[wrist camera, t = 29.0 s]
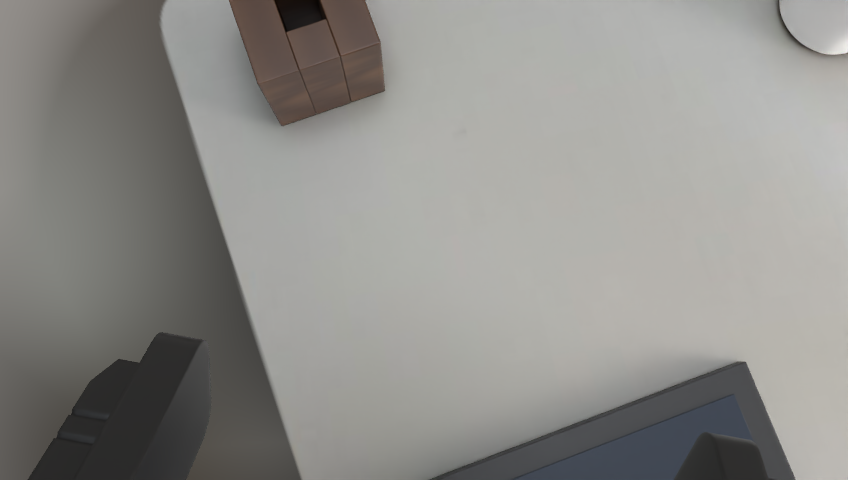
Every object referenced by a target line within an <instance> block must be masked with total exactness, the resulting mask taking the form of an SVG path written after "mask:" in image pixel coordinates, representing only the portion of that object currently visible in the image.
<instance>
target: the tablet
mask: <svg viewBox="0 0 848 480" xmlns="http://www.w3.org/2000/svg"><path fill="white" fill-rule="evenodd" d="M703 432H708V433H714V434H719V435H725V436H731V437H736V438H742V439H747V440H752V441H753V442H755V444H756V445H757V446H758V448H759V450H760V453H761V456H762V459H763V462H764V465H765V468H766V472H767V475H768V478H772V479H777V480H796V479H795V477H794V475H793V472H792V470H791V468H790V465H789V463H788V460H787V458H786V456H785V453H784V451H783V449H782V446H781V444H780V442H779V439H778V437H777V434H776V432H775V430H774V427H773V425H772V423H771V420H770V418H769V416H768V413H767V411H766V408H765V406H764V404H763V401H762V399H761V397H760V394H759V392H758V390H757V387H756V385H755V382H754V380H753V378H752V375H751V373H750V371H749V368H748V366H747V364H746V362H736V363H733V364H730V365H728V366H725V367H723V368H720V369H717V370H715V371H712V372H710V373H707V374H704V375H702V376H699V377H696V378H694V379H691V380H689V381H686V382H683V383H681V384H678V385H676V386H673V387H670V388H668V389H665V390H662V391H660V392H657V393H655V394H652V395H649V396H647V397H644V398H642V399H639V400H636V401H634V402H631V403H628V404H626V405H623V406H621V407H618V408H615V409H613V410H610V411H608V412H605V413H602V414H600V415H597V416H594V417H592V418H589V419H587V420H584V421H581V422H579V423H576V424H574V425H571V426H568V427H566V428H563V429H560V430H558V431H555V432H553V433H550V434H547V435H545V436H542V437H540V438H537V439H534V440H532V441H529V442H526V443H524V444H521V445H519V446H516V447H513V448H511V449H508V450H506V451H503V452H500V453H498V454H495V455H492V456H490V457H487V458H485V459H482V460H479V461H477V462H474V463H471V464H469V465H466V466H464V467H461V468H458V469H456V470H453V471H451V472H448V473H445V474H443V475H440V476H437V477H435V478H432V479H430V480H674V478H675V476H676V474H677V473H678V471H679V469H680V468H681V466H682V464H683V462H684V461H685V459H686V457H687V455H688V454H689V452H690V450H691V448H692V447H693V445H694V443H695V442H696V440H697V438H698V437H699V436H700V434H702V433H703Z"/></svg>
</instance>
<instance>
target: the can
mask: <svg viewBox="0 0 848 480" xmlns="http://www.w3.org/2000/svg"><path fill="white" fill-rule="evenodd" d="M779 6H780V12H781V16H782V19H783V21H784V23H785V25H786V27H787V28H788V30H789V31H790V33H791V34H792V35H793V36H794V37H795V38H796V39H797V40H798V41H799V42H801V43H802V44H803V45H805V46H806V47H808V48H810V49H812V50H814V51H817V52H819V53H823V54H831V55H836V54H844V53H848V0H779Z"/></svg>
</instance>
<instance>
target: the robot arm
mask: <svg viewBox="0 0 848 480" xmlns="http://www.w3.org/2000/svg"><path fill="white" fill-rule="evenodd" d="M210 410H211V383H210V358H209V345H208V342H207V341H206V340H202V339H195V338H190V337H185V336H179V335H174V334H168V333H163V332H162V333H158V334H157V335H156V337H155V338H154V339H153V341H152V342H151V344H150V346H149V347H148V349H147V351H146V353H145V354H144V356H143V358H142V360H141V361H140V363H137V362H132V361H127V360H121V359H118V360H117V361H115V362H114V363H113V364H112V365H110V366H109V367H108V368H106V369H105V370H104V371H103V372H101V373H100V374H99V375H97V376H96V377H95V378H94V379H92V380H91V381H90V382H89V384H88V385H87V387H86V388H85V390H84V392H83V393H82V395H81V396H80V398H79V400H78V401H77V403H76V404H75V406H74V407H73V409H72V414H71V415H68V417H67V418H66V420H65V422H64V423H63V425H62V426H61V428H60V430H59V431H58V435H57V438H56V439H55V438H54V439H53V441H52V442H51V444H50V445H49V447H48V449H47V450H46V452H45V453H44V455H43V456H42V458H41V460H40V461H39V463H38V465H37V466H36V468H35V470H34V471H33V472H32V474H31V475H30V477H29V479H28V480H186V478H187V476H188V474H189V471H190V469H191V467H192V464H193V462H194V460H195V457H196V455H197V453H198V450H199V448H200V446H201V443H202V441H203V439H204V436H205V433H206V429H207V425H208V422H209V417H210ZM674 480H777V479H772V478H768V475H767V472H766V468H765V465H764V462H763V459H762V456H761V453H760V450H759V448H758V446H757V445H756V444H755V442H753V441H752V440H747V439H742V438H736V437H731V436H725V435H719V434H714V433H708V432H703V433H702V434H700V436H699V437H698V438H697V440H696V442H695V443H694V445H693V447H692V448H691V450H690V452H689V454H688V455H687V457H686V459H685V461H684V462H683V464H682V466H681V468H680V469H679V471H678V473H677V474H676V476H675V478H674Z"/></svg>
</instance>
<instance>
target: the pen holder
mask: <svg viewBox="0 0 848 480" xmlns="http://www.w3.org/2000/svg"><path fill="white" fill-rule="evenodd" d="M229 2H230V5H231V8H232V11H233V14H234V17H235V20H236V22H237V25H238V28H239V31H240V34H241V37H242V40H243V43H244V46H245V48H246V51H247V54H248V57H249V60H250V63H251V66H252V69H253V72H254V74H255V77H256V80H257V83H258V85H259V87H260V89H261V90H262V92H263V94H264V96H265V98H266V99H267V101H268V103H269V105H270V106H271V108H272V110H273V112H274V114H275V115H276V117H277V119H278V121H279V122H280V124H281V126H283V125H286V124H289V123H292V122H295V121H298V120H301V119H304V118H307V117H310V116H313V115H316V114H318V113H321V112H324V111H327V110H330V109H333V108H336V107H339V106H342V105H345V104H348V103H350V102H353V101H356V100H359V99H362V98H365V97H368V96H371V95H374V94H377V93H379V92H382V91H384V90H385V85H384V74H383V64H382V53H381V42H380V39H379V37H378V34H377V31H376V29H375V26H374V23H373V21H372V18H371V15H370V13H369V10H368V7H367V5H366V2H365V0H229Z"/></svg>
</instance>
